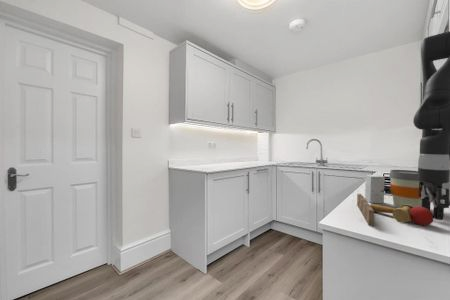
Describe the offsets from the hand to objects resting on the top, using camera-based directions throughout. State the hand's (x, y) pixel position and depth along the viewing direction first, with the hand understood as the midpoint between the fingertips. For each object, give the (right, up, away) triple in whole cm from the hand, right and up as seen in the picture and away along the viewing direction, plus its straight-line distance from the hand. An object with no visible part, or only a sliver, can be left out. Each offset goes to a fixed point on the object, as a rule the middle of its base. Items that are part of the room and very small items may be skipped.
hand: (431, 214), depth 70 cm
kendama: (-8, -3, +4) cm, 9 cm away
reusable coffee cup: (+7, -2, +17) cm, 18 cm away
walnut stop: (-17, -2, +8) cm, 19 cm away
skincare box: (-2, -2, +24) cm, 24 cm away
